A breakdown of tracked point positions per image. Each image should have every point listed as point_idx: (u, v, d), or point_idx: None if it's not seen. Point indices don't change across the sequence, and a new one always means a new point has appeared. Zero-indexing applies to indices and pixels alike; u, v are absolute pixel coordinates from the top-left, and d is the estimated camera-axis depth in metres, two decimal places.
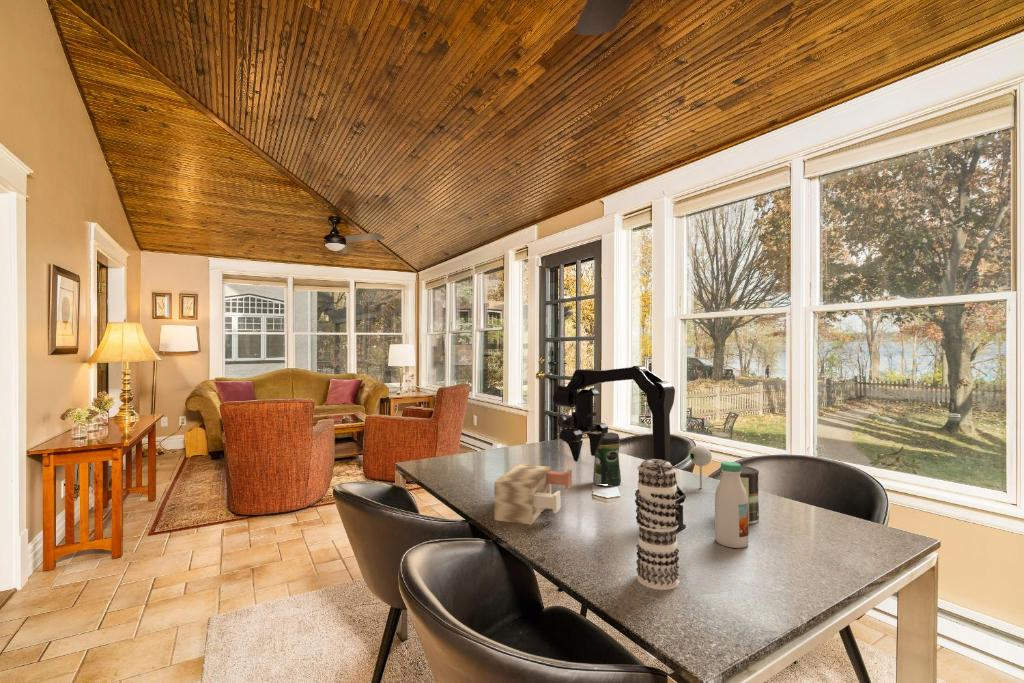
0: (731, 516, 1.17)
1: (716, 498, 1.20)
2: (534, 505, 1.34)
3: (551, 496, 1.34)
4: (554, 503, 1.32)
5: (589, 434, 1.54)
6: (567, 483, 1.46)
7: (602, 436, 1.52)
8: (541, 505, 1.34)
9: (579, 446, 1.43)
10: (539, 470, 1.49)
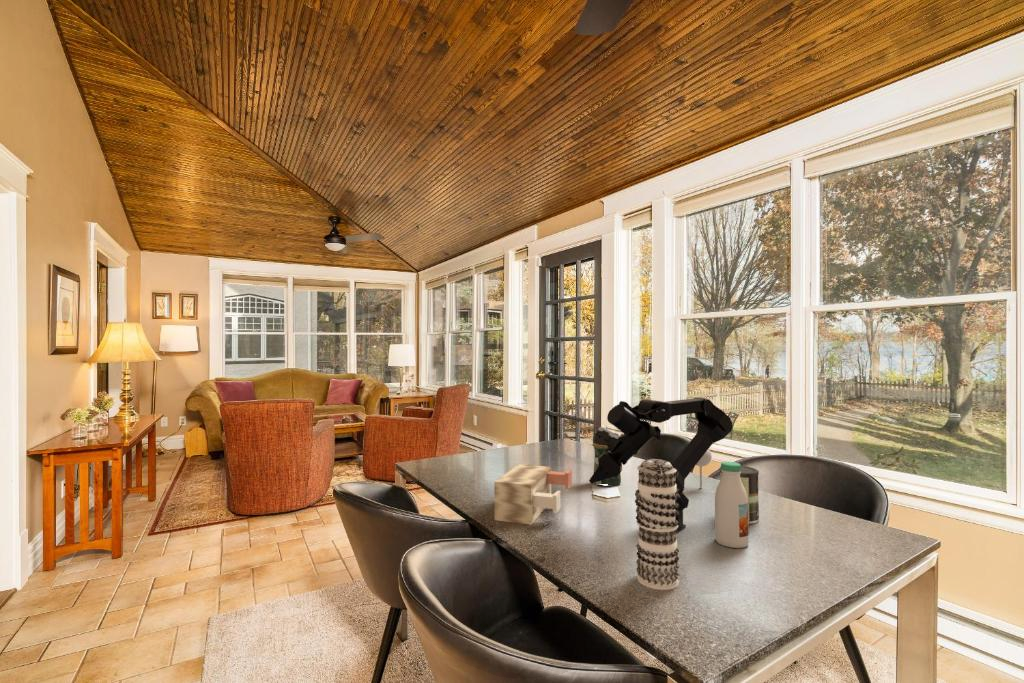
0: (731, 516, 1.17)
1: (716, 498, 1.20)
2: (534, 505, 1.34)
3: (551, 496, 1.34)
4: (554, 503, 1.32)
5: None
6: (567, 483, 1.46)
7: None
8: (541, 505, 1.34)
9: (609, 477, 1.24)
10: (539, 470, 1.49)
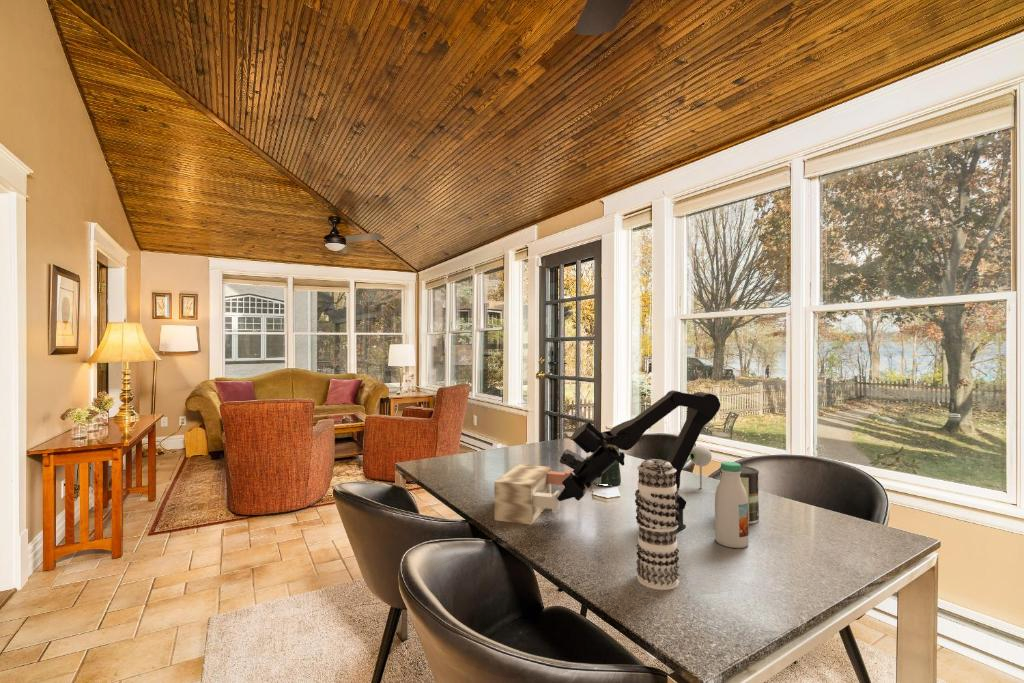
0: (731, 516, 1.17)
1: (716, 498, 1.20)
2: (533, 505, 1.34)
3: (550, 496, 1.34)
4: (553, 503, 1.32)
5: None
6: None
7: None
8: (540, 505, 1.34)
9: None
10: (539, 470, 1.49)
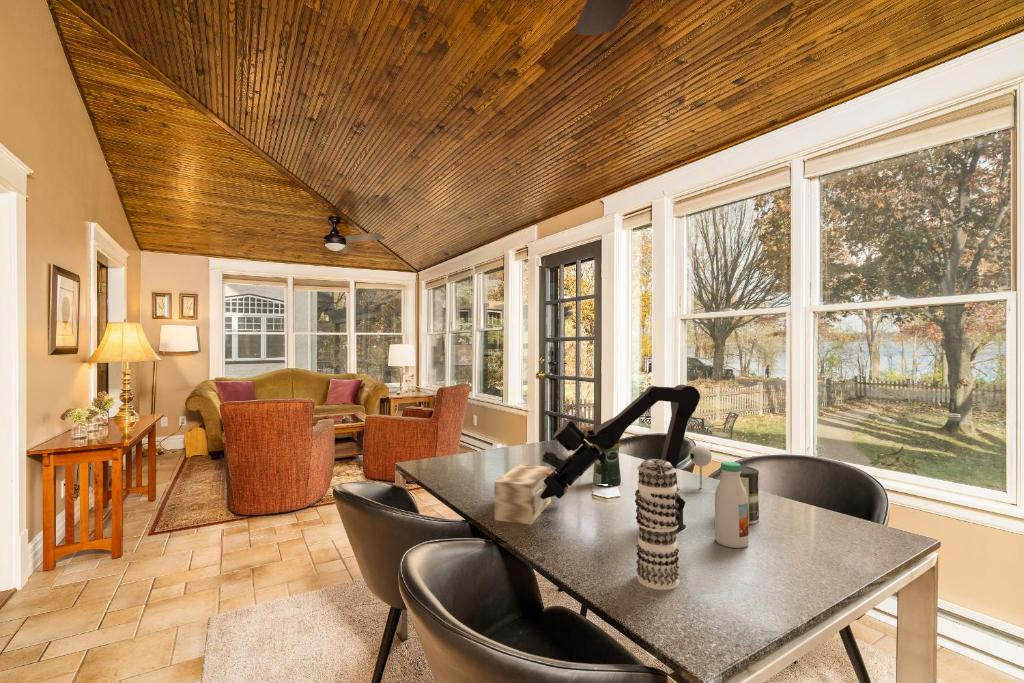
0: (731, 516, 1.17)
1: (716, 498, 1.20)
2: None
3: (533, 494, 1.35)
4: (536, 501, 1.33)
5: None
6: None
7: None
8: None
9: None
10: (539, 470, 1.49)
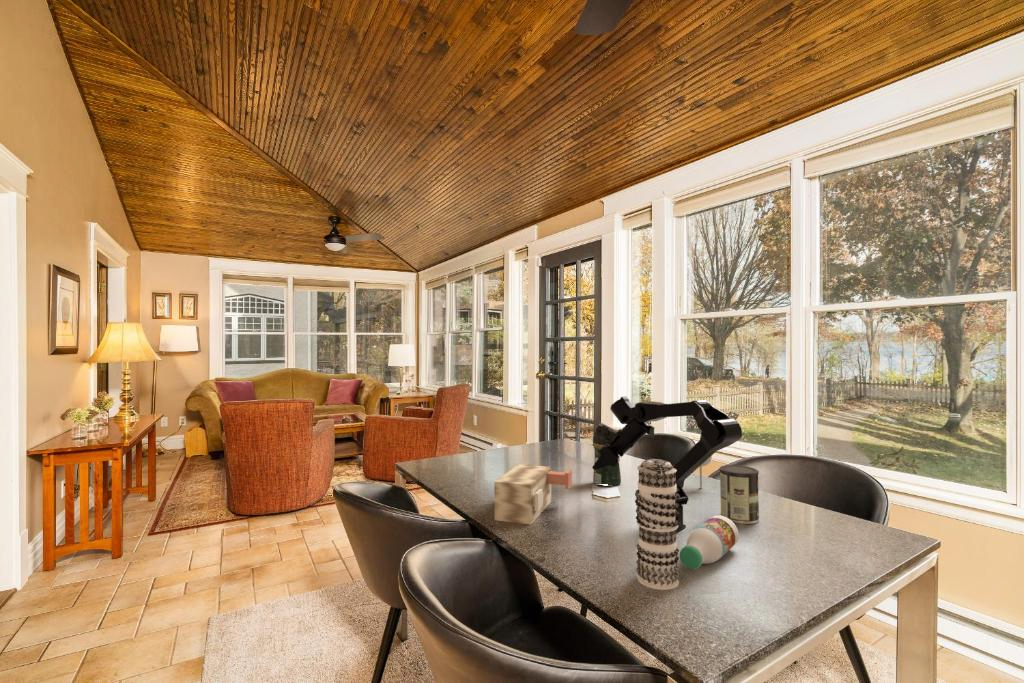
0: None
1: None
2: None
3: (533, 494, 1.35)
4: (536, 501, 1.33)
5: None
6: (567, 483, 1.46)
7: None
8: None
9: (610, 464, 1.42)
10: (539, 470, 1.49)
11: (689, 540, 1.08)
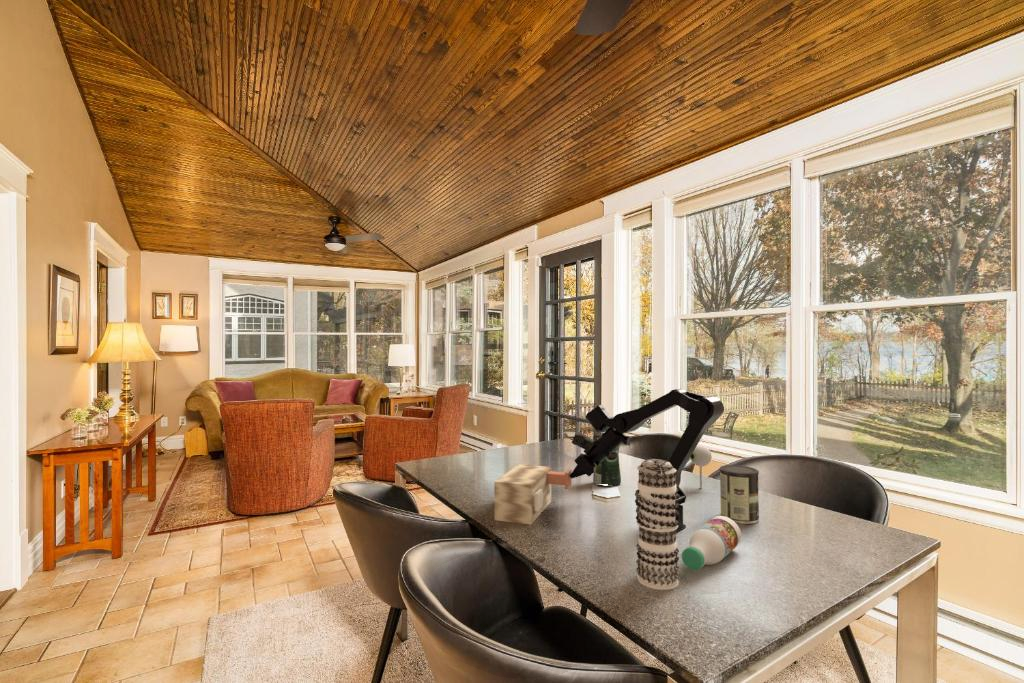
0: None
1: None
2: None
3: (533, 494, 1.35)
4: (536, 501, 1.33)
5: None
6: (567, 483, 1.46)
7: None
8: None
9: (586, 473, 1.44)
10: (539, 470, 1.49)
11: (692, 540, 1.08)
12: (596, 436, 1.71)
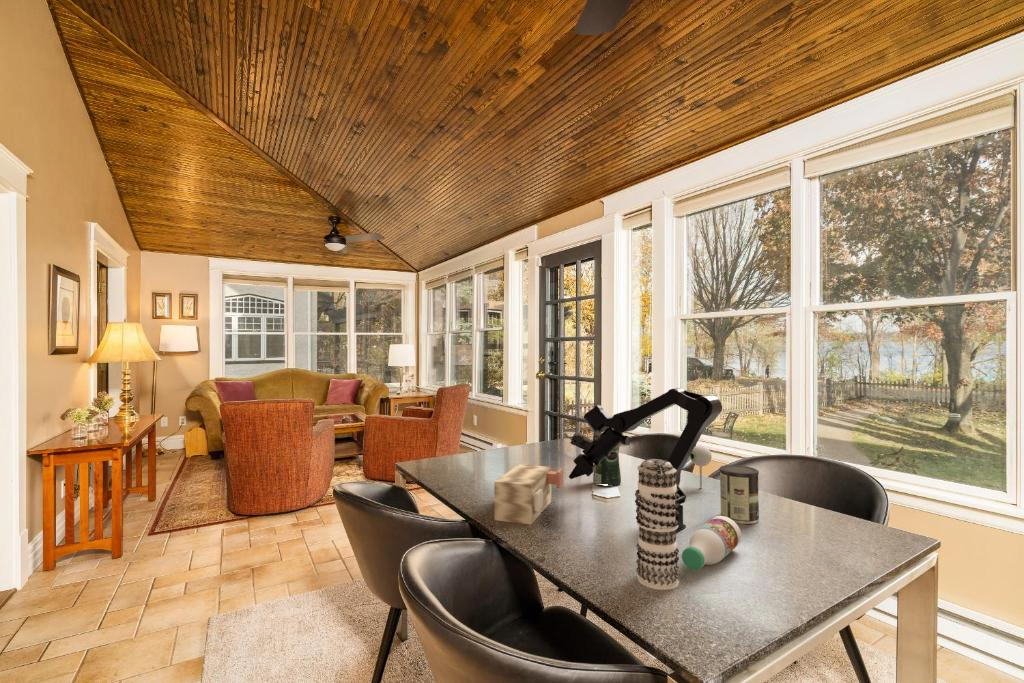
0: None
1: None
2: None
3: (533, 494, 1.35)
4: (536, 501, 1.33)
5: None
6: (558, 482, 1.47)
7: None
8: None
9: (585, 473, 1.44)
10: (539, 470, 1.49)
11: (692, 540, 1.08)
12: (596, 436, 1.71)
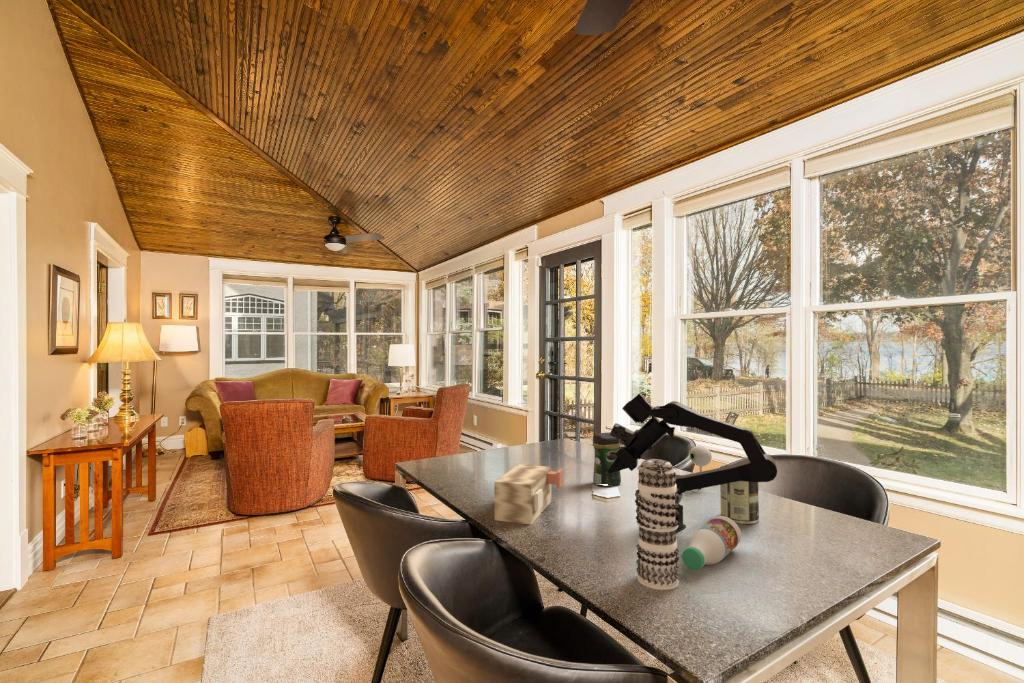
0: None
1: None
2: None
3: (533, 494, 1.35)
4: (536, 501, 1.33)
5: None
6: (558, 482, 1.47)
7: None
8: None
9: (626, 468, 1.33)
10: (539, 470, 1.49)
11: (692, 540, 1.08)
12: (596, 436, 1.71)
